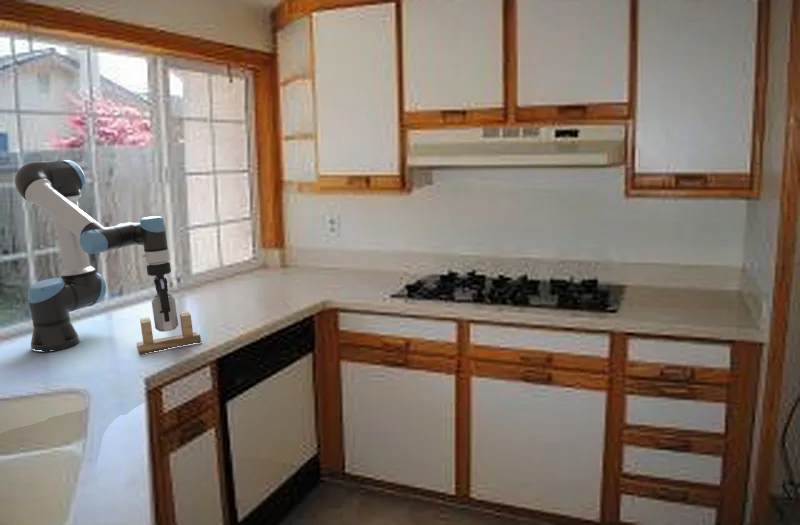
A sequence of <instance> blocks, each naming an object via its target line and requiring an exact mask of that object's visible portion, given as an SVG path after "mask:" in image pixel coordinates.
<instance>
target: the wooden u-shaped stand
mask: <svg viewBox="0 0 800 525" xmlns="http://www.w3.org/2000/svg"><path fill="white" fill-rule="evenodd" d="M179 319H180V327H181V334H179V335H173V336H168V337H161V338H155V339H154V336H153V335H154V334H153V329H152V321H151V318H150V317H145V318H139V321H140V328H141V337H142V341H140V342H136V346H137V351H138V355H139V356H143V355H142V354H144V355H146V354H145V353H149V352H154V351H159V350H164V349H168V348H172V347H177V346H183V345H188V344H193V343H200V342H201V343H202V339H201V337H202V336H201V334H197V332H194V331H193V323H192V316H191V313H190V311H189V310H187V311H181V312H179ZM149 354H150V353H149Z"/></svg>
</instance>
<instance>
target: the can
mask: <svg viewBox="0 0 800 525" xmlns="http://www.w3.org/2000/svg"><path fill="white" fill-rule="evenodd" d="M152 298H153V299H152V300H151V308H152V314H153V320H154V328H155V330H157V331H158V332H161V333H163V332H164V333H165V332H166V331H164V327H163V320H162V313H160V311H161V310H162V309H161V303H160V298H159V295H157V294H156V295H153V296H152ZM168 299H169V305H170V309H171V310H170V314H171V322H172V329H173V330H169V331H168V332H171V331H174V330H176V329H177V328H178V327H179V322H178V321H179V320H178V314H177V313H178V311H177V306H176V299H175V297H173V294H172V293H168Z"/></svg>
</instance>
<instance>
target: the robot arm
mask: <svg viewBox="0 0 800 525" xmlns="http://www.w3.org/2000/svg"><path fill="white" fill-rule="evenodd" d="M14 184H15V188H16V191H17V192H18V194H20V196H21V197H22V198H23V199H24V200H25V201H27V202H28V203H29V204H33V205H37V206H38V207H40V208H41V209H42V210H43V211H45V212H46V213H47V214H49V216H51V217H52V218H53V220H54V225H55V230H56V234H57V235H56V236H57V240H58V244H59V250H60V254H61V258H62V262H63V268H64V269H63V271H62V272H61V274H60V277H53V278H48V279H44V280H40V281H38V282H35V283H33V284H31V285H30V286H28V289H27V301H28V303H29V304H28V305H29V309H30V315H31V320H32V325H33V329H32V330H33V331H32V336H31V341H30V346H31V347H30V348H31V350H32V349H35V350H42V351H50V350H58V351H62V350H66V349H68V348H71V347H74V346H76V345H77V344H79V342H80V338H79V335H78V333H77V331H76V329H75V327H74V325H73V323H72V322H71V318H70V313H71V312H74V311H78V310H81V309H84V308H86V307H93V306H94V305H96V304H99V303H100V302H102V301H103V299H104V298H105V296H106V294H107V283H106V281H105V279H104V277H103V276H102V274H100V273H98V272H97V270H96V268H95V267H93V266H92V265H91V263H90V257H89V255H93V254H94V255H95V254H103V253H105V252H108V251H112V250H118V249H122V248H126V247H127V248H128V247H130V246H143V251H144V254H143V255H142V257H143V258H145V263H146V271H147V275H148V276H150V277H154V279H153V283H154V285H155V291H156V295H159V298H160V303H161V309H162V310H161V311H160V313H162V320H163V327H164V331H165V332H170V331H169V330H171V331H174V330H173V329H172V322H171V314H170V310H171V309H170V305H169V299H168V294H169V293H168V291H169V288H168V279H167V277H165V275H169V274H171V272H172V268H171V263H170V258H171V257H170V254H169V252H170V251H169V248H168V240H167V230H166V228H167V227H166V225H165V221H164V218H163V217H162V216H159V215H158V216H157V215H156V216H147V217H146V216H145V217H142V218H140V220H139V222H121V223H118V224H117V225H113V226H109V227H108V226H106V227H104V226H103V225H102V224H100V223H99V222H98V221H96V220H95V219H94V218H92V217H91V216H90V215H89V214H87V212H84V210H82V209H81V208H79V202H78V200H79V199H80V198H81V196H82V194H81V191H82V190H83V189H85V184H86V177H85V173H84V170H82V168H81V166H80V165H79V164H77V162H75V161H73V160H69V159H57V160H46V161H45V160H44V161H43V160H42V161H32V162H28V163H26V164H23V165H22V166H21V167H20V168H18V170H17V172H16V174H15V177H14ZM61 349H62V350H61Z"/></svg>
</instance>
